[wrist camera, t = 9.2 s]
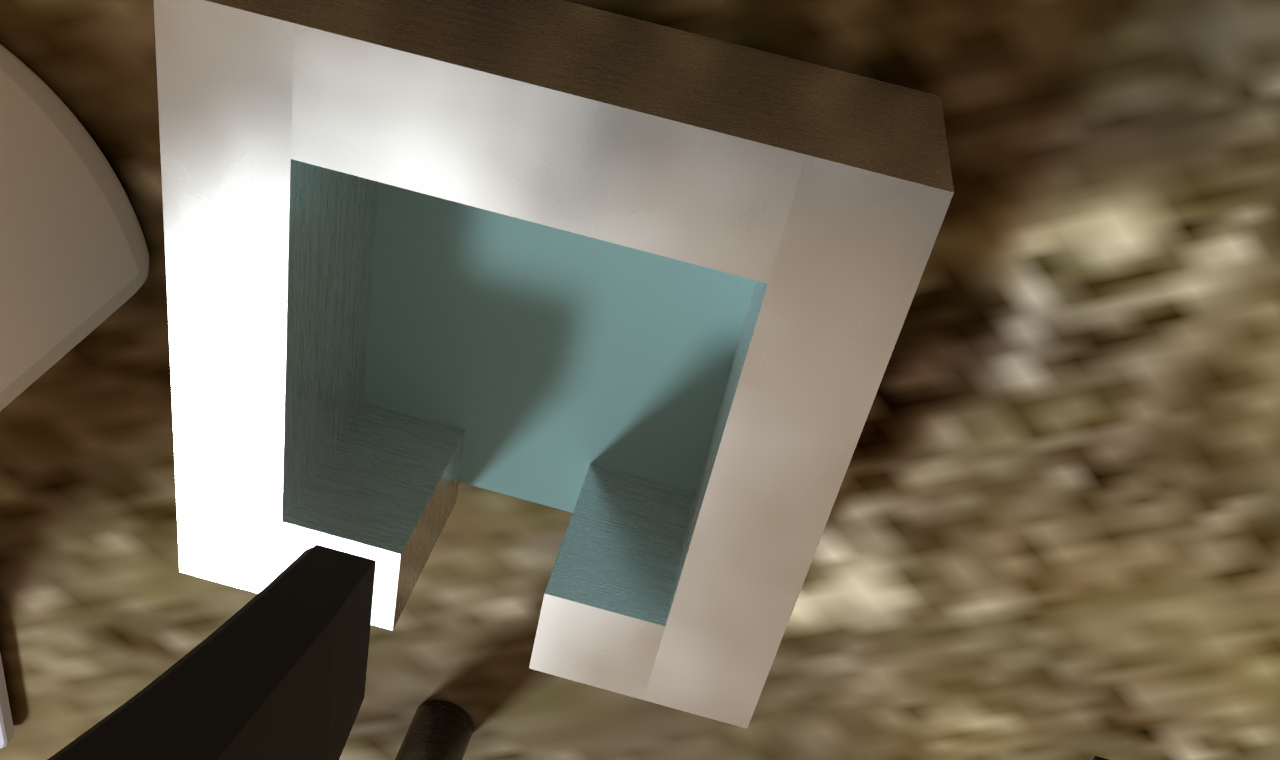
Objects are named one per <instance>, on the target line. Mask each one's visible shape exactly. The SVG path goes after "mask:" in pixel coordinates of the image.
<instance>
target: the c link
mask: <svg viewBox="0 0 1280 760" xmlns="http://www.w3.org/2000/svg"><path fill="white" fill-rule="evenodd" d="M154 22H155V44H156V66H157V88H158V110H159V132H160V154H161V176H162V199H163V221H164V243H165V265H166V287H167V309H168V331H169V353H170V375H171V397H172V419H173V441H174V463H175V485H176V507H177V530H178V552H179V572H182V573H185V574H189V575H193V576H196V577H200V578H203V579H207V580H211V581H214V582H218V583H222V584H225V585H229V586H232V587H236V588H240V589H243V590H247V591H251V592H254V593H260V592H261V591H262V590H263V589H264V588H265V587H266V586H267V585H268V584H270V583H271V582H272V581H273V580H274V579H275V578H276V577H277V576H278V575H279V574H281V573H282V572H283V571H284V570H285V569H286V568H287V567H288V566H289V565H290V564H291V563H292V562H294V561H295V560H296V559H297V558H298V557H299V556H300V555H301V554H302V553H303V552H304V551H305V550H307V549H309V548H311V547H313V546H315V545H320V546H324V547H327V548H331V549H335V550H338V551H342V552H346V553H349V554H353V555H357V556H361V557H364V558H368V559H372V560H375V561H376V567H375V578H374V590H373V601H372V613H371V624H370V625H374V626H377V627H381V628H385V629H388V630H392V631H393V629H394V627H395V625H396V623H397V621H398V619H399V617H400V615H401V613H402V611H403V609H404V607H405V605H406V603H407V601H408V599H409V597H410V595H411V592H412V590H413V588H414V586H415V584H416V582H417V580H418V578H419V576H420V574H421V572H422V570H423V568H424V566H425V564H426V562H427V560H428V558H429V556H430V554H431V552H432V550H433V548H434V546H435V544H436V542H437V540H438V538H439V536H440V534H441V532H442V530H443V528H444V525H445V523H446V521H447V519H448V517H449V515H450V513H451V511H452V509H453V507H454V505H455V503H456V498H457V491H458V483H459V476H460V469H461V462H462V454H463V447H464V440H465V433H466V430H463V429H460V428H456V427H452V426H449V425H445V424H441V423H437V422H434V421H430V420H426V419H423V418H419V417H415V416H411V415H408V414H404V413H400V412H396V411H393V410H389V409H385V408H382V407H378V406H374V405H370V404H367V403H363V395H364V381H365V367H366V353H367V340H368V326H369V312H370V298H371V284H372V270H373V257H374V243H375V229H376V215H377V201H378V187H379V182H381V183H385V184H389V185H392V186H396V187H400V188H404V189H408V190H412V191H415V192H419V193H423V194H427V195H431V196H434V197H438V198H442V199H446V200H450V201H454V202H457V203H461V204H465V205H469V206H473V207H477V208H480V209H484V210H488V211H492V212H496V213H500V214H503V215H507V216H511V217H515V218H519V219H523V220H526V221H530V222H534V223H538V224H542V225H546V226H549V227H553V228H557V229H561V230H565V231H568V232H572V233H576V234H580V235H584V236H588V237H591V238H595V239H599V240H603V241H607V242H611V243H614V244H618V245H622V246H626V247H630V248H634V249H637V250H641V251H645V252H649V253H653V254H657V255H660V256H664V257H668V258H672V259H676V260H680V261H683V262H687V263H691V264H695V265H699V266H702V267H706V268H710V269H714V270H718V271H722V272H725V273H729V274H733V275H737V276H741V277H745V278H748V279H752V280H756V284H755V287H754V290H753V294H752V297H751V301H750V304H749V308H748V311H747V314H746V318H745V321H744V325H743V328H742V331H741V335H740V338H739V342H738V345H737V349H736V352H735V355H734V359H733V362H732V366H731V369H730V373H729V376H728V379H727V383H726V386H725V390H724V393H723V396H722V400H721V403H720V407H719V410H718V414H717V417H716V420H715V424H714V427H713V431H712V434H711V438H710V441H709V444H708V448H707V451H706V455H705V458H704V462H703V465H702V468H701V472H700V475H699V479H698V482H697V485H696V489H695V492H694V491H690V490H687V489H683V488H679V487H676V486H672V485H668V484H664V483H661V482H657V481H653V480H650V479H646V478H642V477H638V476H635V475H631V474H627V473H623V472H620V471H616V470H612V469H609V468H605V467H601V466H597V465H594V464H590V466H589V469H588V471H587V474H586V477H585V480H584V483H583V486H582V488H581V491H580V494H579V497H578V500H577V503H576V505H575V508H574V511H573V514H572V517H571V520H570V523H569V525H568V528H567V531H566V534H565V537H564V540H563V542H562V545H561V548H560V551H559V554H558V557H557V559H556V562H555V565H554V568H553V571H552V574H551V576H550V579H549V582H548V585H547V588H546V591H545V594H544V598H543V603H542V608H541V613H540V618H539V622H538V627H537V632H536V637H535V642H534V646H533V651H532V656H531V661H530V666H529V669H533V670H537V671H540V672H544V673H548V674H551V675H555V676H558V677H562V678H566V679H569V680H573V681H577V682H580V683H584V684H587V685H591V686H595V687H598V688H602V689H606V690H609V691H613V692H616V693H620V694H624V695H627V696H631V697H635V698H638V699H642V700H645V701H649V702H653V703H656V704H660V705H663V706H667V707H671V708H674V709H678V710H682V711H685V712H689V713H692V714H696V715H700V716H703V717H707V718H711V719H714V720H718V721H721V722H725V723H729V724H732V725H736V726H740V727H743V728H748V725H749V723H750V720H751V718H752V715H753V712H754V710H755V707H756V705H757V702H758V699H759V697H760V694H761V692H762V689H763V686H764V684H765V681H766V679H767V676H768V673H769V671H770V668H771V666H772V663H773V661H774V658H775V655H776V653H777V650H778V648H779V645H780V642H781V640H782V637H783V635H784V632H785V629H786V627H787V624H788V622H789V619H790V616H791V614H792V611H793V609H794V606H795V604H796V601H797V598H798V596H799V593H800V591H801V588H802V585H803V583H804V580H805V578H806V575H807V572H808V570H809V567H810V565H811V562H812V559H813V557H814V554H815V552H816V549H817V546H818V544H819V541H820V539H821V536H822V534H823V531H824V528H825V526H826V523H827V521H828V518H829V515H830V513H831V510H832V508H833V505H834V502H835V500H836V497H837V495H838V492H839V489H840V487H841V484H842V482H843V479H844V477H845V474H846V471H847V469H848V466H849V464H850V461H851V458H852V456H853V453H854V451H855V448H856V445H857V443H858V440H859V438H860V435H861V432H862V430H863V427H864V425H865V422H866V419H867V417H868V414H869V412H870V409H871V407H872V404H873V401H874V399H875V396H876V394H877V391H878V388H879V386H880V383H881V381H882V378H883V375H884V373H885V370H886V368H887V365H888V362H889V360H890V357H891V355H892V352H893V350H894V347H895V344H896V342H897V339H898V337H899V334H900V331H901V329H902V326H903V324H904V321H905V318H906V316H907V313H908V311H909V308H910V305H911V303H912V300H913V298H914V295H915V292H916V290H917V287H918V285H919V282H920V280H921V277H922V274H923V272H924V269H925V267H926V264H927V261H928V259H929V256H930V254H931V251H932V248H933V246H934V243H935V241H936V238H937V235H938V233H939V230H940V228H941V225H942V223H943V220H944V217H945V215H946V212H947V210H948V207H949V204H950V202H951V199H952V197H953V194H954V189H953V181H952V174H951V167H950V159H949V152H948V145H947V138H946V130H945V123H944V116H943V108H942V101H941V96H939V95H935V94H931V93H927V92H923V91H919V90H915V89H911V88H907V87H903V86H899V85H895V84H892V83H888V82H884V81H880V80H876V79H872V78H868V77H864V76H860V75H856V74H852V73H848V72H844V71H840V70H836V69H832V68H828V67H825V66H821V65H817V64H813V63H809V62H805V61H801V60H797V59H793V58H789V57H785V56H781V55H777V54H773V53H769V52H765V51H761V50H757V49H754V48H750V47H746V46H742V45H738V44H734V43H730V42H726V41H722V40H718V39H714V38H710V37H706V36H702V35H698V34H694V33H690V32H686V31H683V30H679V29H675V28H671V27H667V26H663V25H659V24H655V23H651V22H647V21H643V20H639V19H635V18H631V17H627V16H623V15H619V14H615V13H612V12H608V11H604V10H600V9H596V8H592V7H588V6H584V5H580V4H576V3H572V2H568V1H564V0H154Z"/></svg>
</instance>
